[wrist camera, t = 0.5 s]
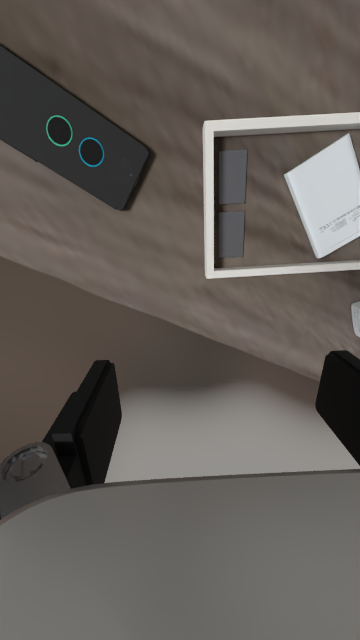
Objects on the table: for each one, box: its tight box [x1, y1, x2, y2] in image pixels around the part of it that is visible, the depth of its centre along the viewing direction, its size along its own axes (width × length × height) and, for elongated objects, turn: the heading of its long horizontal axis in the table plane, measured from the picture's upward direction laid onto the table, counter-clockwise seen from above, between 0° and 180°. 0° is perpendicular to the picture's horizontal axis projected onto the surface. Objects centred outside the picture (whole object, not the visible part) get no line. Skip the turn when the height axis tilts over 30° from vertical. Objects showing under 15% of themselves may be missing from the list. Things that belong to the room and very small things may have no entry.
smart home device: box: [0, 46, 149, 211], centre depth 28 cm, size 8×2×20 cm
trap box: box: [203, 112, 360, 279], centre depth 31 cm, size 18×33×4 cm, turn 93°
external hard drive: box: [284, 133, 360, 258], centre depth 32 cm, size 2×8×12 cm
